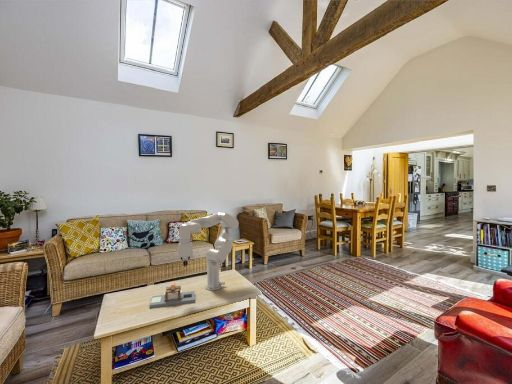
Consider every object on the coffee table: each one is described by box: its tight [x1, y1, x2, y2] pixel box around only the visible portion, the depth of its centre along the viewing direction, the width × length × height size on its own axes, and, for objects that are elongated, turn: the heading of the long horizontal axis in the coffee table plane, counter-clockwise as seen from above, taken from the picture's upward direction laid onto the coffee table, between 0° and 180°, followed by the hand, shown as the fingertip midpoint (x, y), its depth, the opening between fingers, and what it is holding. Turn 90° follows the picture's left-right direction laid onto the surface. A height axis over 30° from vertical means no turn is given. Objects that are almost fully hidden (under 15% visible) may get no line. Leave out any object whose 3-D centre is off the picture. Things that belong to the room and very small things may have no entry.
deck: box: [149, 291, 196, 309], centre depth 177 cm, size 30×14×2 cm, turn 105°
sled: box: [163, 281, 183, 300], centre depth 177 cm, size 12×7×10 cm, turn 105°
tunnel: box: [164, 285, 182, 302], centre depth 177 cm, size 10×9×6 cm
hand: (185, 266), depth 178 cm, fingers closed
